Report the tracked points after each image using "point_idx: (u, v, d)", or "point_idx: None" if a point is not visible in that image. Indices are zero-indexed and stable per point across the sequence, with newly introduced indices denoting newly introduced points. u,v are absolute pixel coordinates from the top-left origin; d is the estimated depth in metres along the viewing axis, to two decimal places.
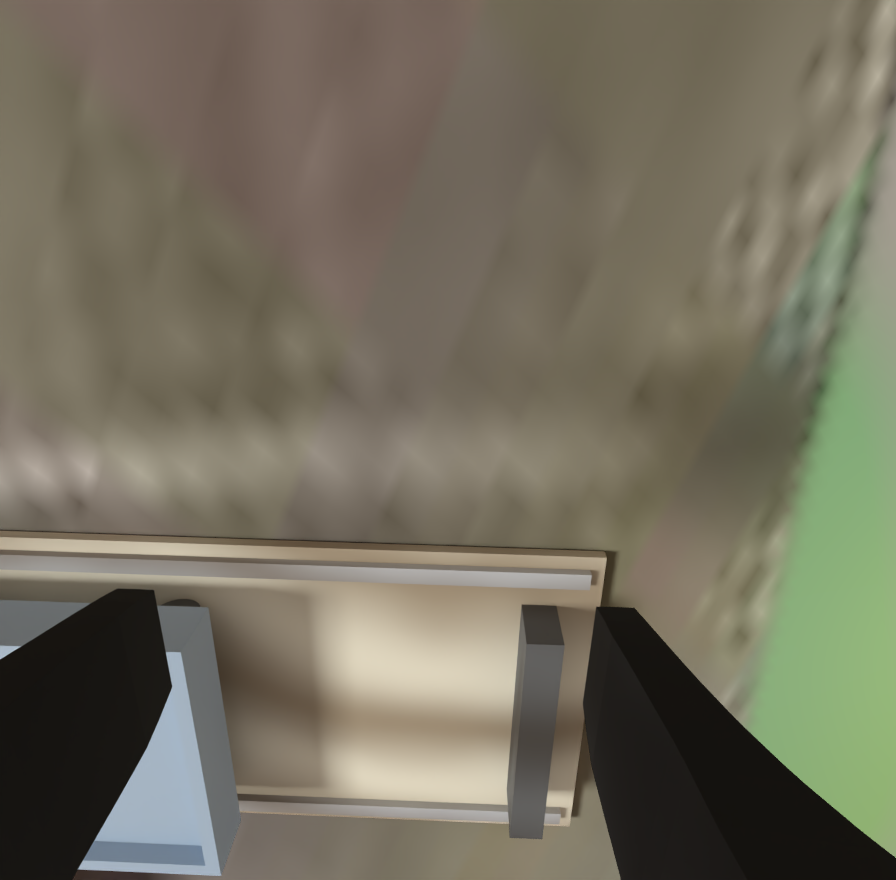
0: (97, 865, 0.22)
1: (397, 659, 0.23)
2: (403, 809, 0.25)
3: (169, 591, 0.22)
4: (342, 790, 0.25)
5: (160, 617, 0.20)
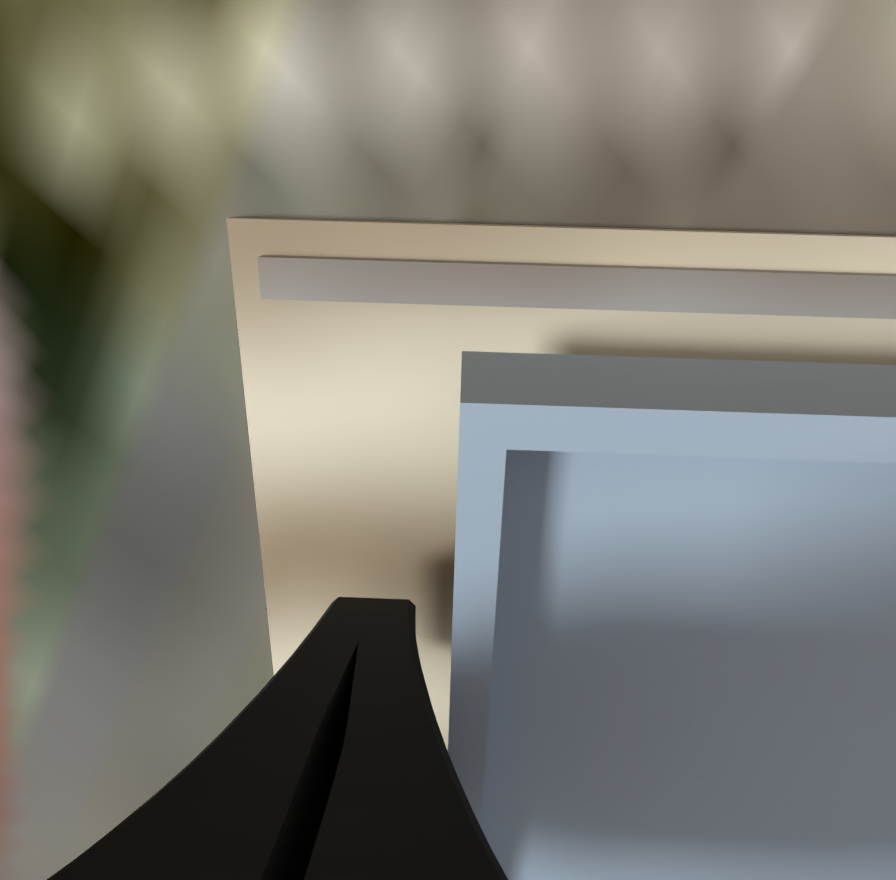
0: None
1: None
2: None
3: None
4: None
5: None
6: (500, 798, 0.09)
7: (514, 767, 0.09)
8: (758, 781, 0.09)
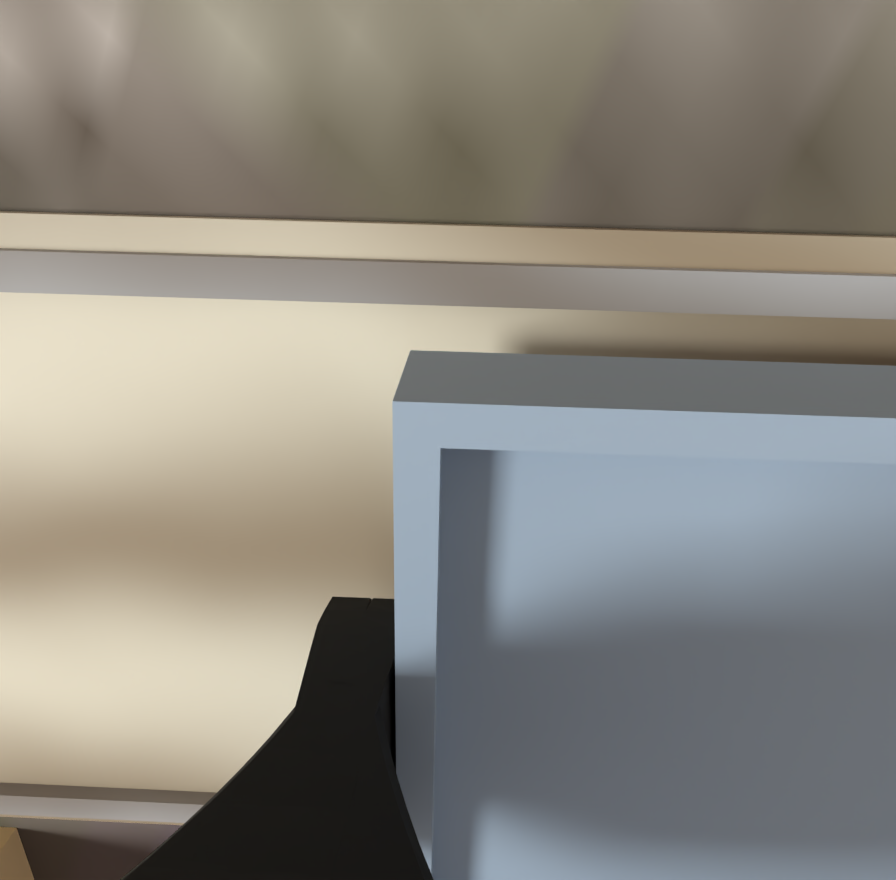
0: None
1: None
2: None
3: (283, 353, 0.10)
4: None
5: None
6: (455, 796, 0.09)
7: (468, 765, 0.09)
8: (711, 780, 0.09)
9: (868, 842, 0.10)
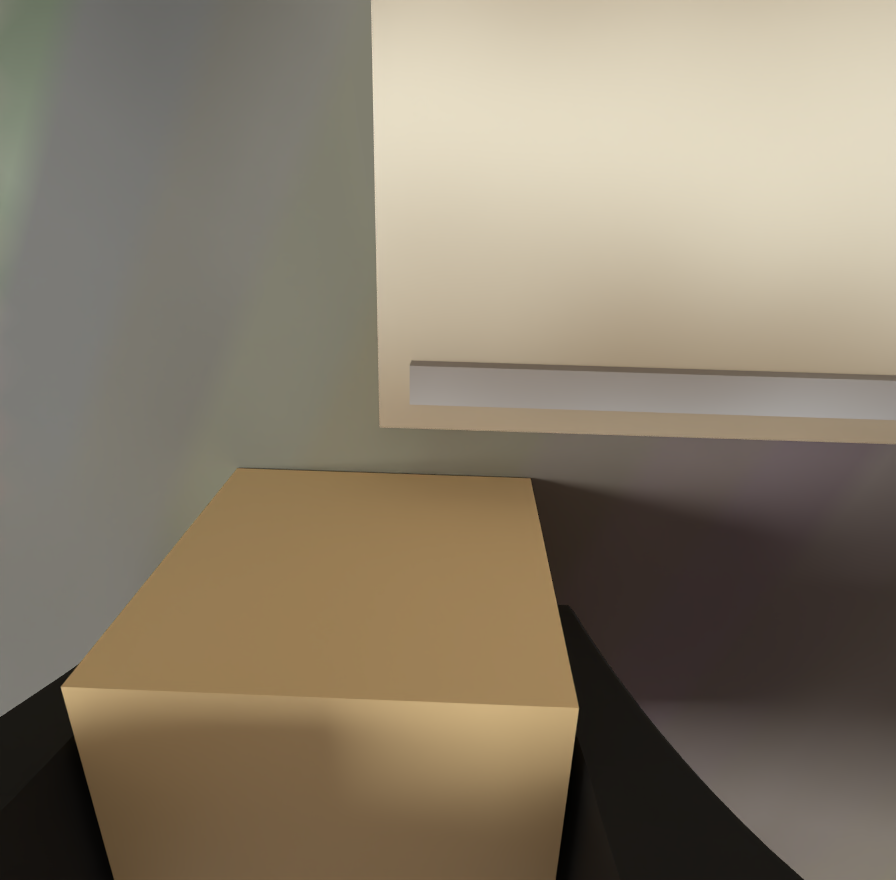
0: None
1: None
2: None
3: None
4: None
5: None
6: None
7: None
8: None
9: None
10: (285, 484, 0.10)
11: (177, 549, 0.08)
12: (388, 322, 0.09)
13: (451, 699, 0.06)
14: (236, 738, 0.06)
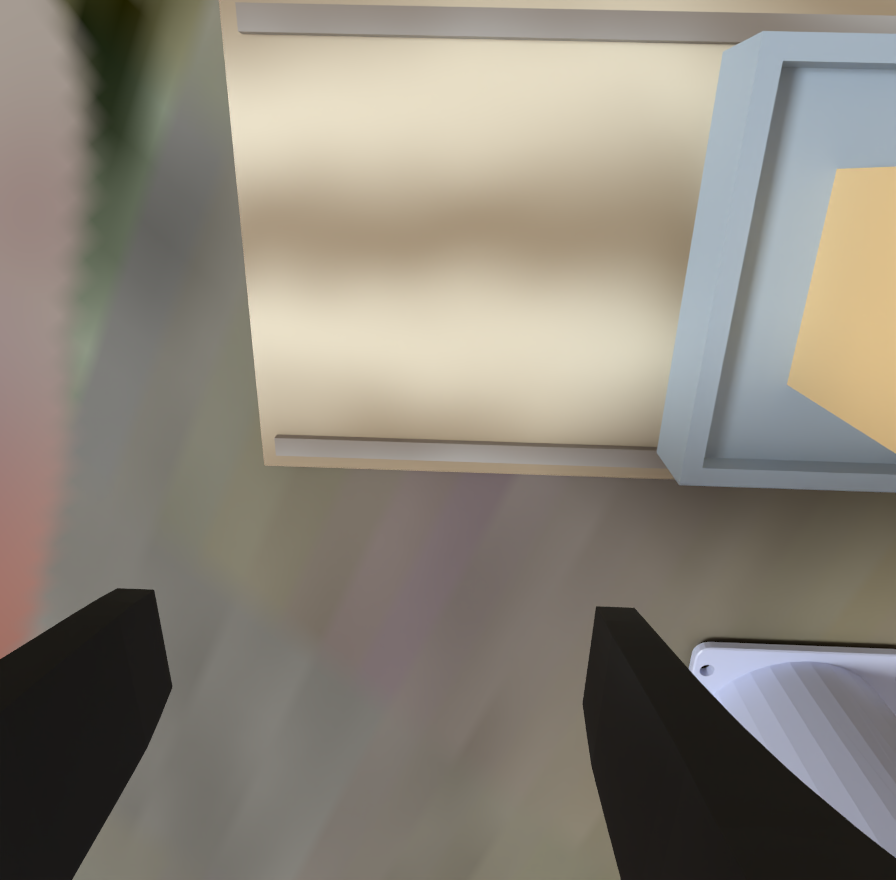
0: None
1: None
2: None
3: (619, 82, 0.16)
4: None
5: None
6: (726, 349, 0.15)
7: (739, 323, 0.15)
8: None
9: None
10: None
11: None
12: (264, 417, 0.19)
13: None
14: None
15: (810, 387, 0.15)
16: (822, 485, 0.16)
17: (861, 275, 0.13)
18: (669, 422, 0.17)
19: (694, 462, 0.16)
